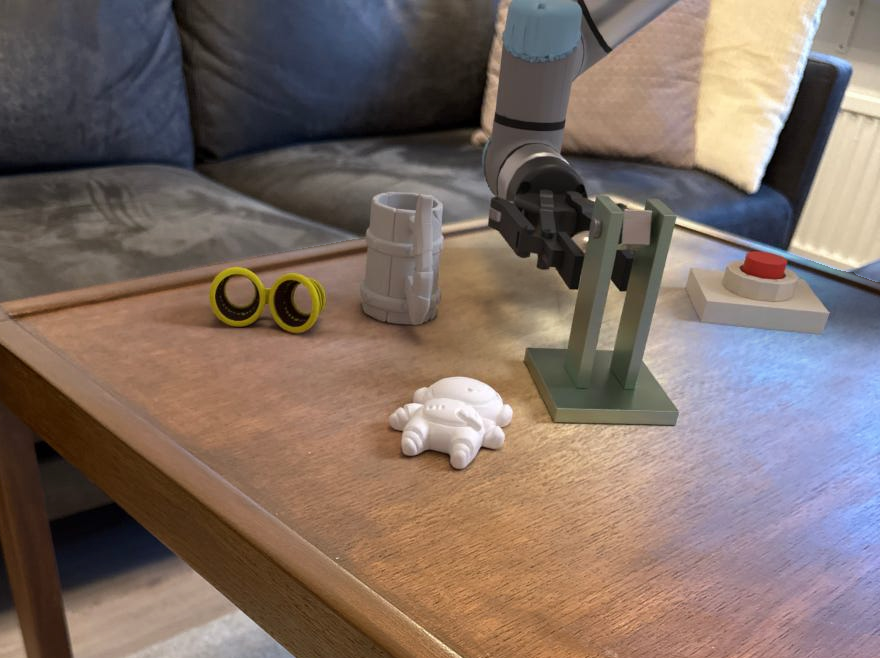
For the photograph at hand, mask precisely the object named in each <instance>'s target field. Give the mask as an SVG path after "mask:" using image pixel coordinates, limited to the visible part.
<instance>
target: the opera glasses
mask: <svg viewBox="0 0 880 658" xmlns="http://www.w3.org/2000/svg"><path fill="white" fill-rule="evenodd" d="M237 276H242V277H245V278H247V279H248V280H249V281H250V282H251V283H252V285H253V288H254V295H253V298H252V299H251V301H250V302H249V303H248V304H246V305H236V304H234V303H233V302H232V301H231V300H230V299H229V298H228V296H227V292H226V289H227V284H228V282H229V281H230V280H231V279H232V278H234V277H237ZM300 285H302V286H304V287H305V288H306V290H307V292H308V293H309V295H310V299H311V311H310V313H309V312H303V311H302V310H300V308H299V307H298V306H297V304H296V302H295V292H296V290H297V288H298V287H299V286H300ZM208 301H209V305H210V307H211V310H212V312H213V314H214V315H215V317H217V319H219V320H220V321H221V322H222V323H224V324H226V325H228V326H231V327H236V328H238V327H239V328H240V327H241V328H242V327H245V326H249V325H251V324H252V323H254V322H256V321H257V320H258V319H259V318H260V317H261V315H262V314H263V313H264V309H265V306H266V305H268V307H269V311H270V314H271V317H272V318H273V320H274V321H275V323H276V324H277V325H278V326H279V327H280V328H282V330H285V331H286V332H289V333H293V334H300V333H304V332H306V331H308V330H309V329H311V328H312V327H313V326H314V324H315V323H316V322H317V320H318V317H319V315H320V314H322V312H323V311H324V309H325V307H326V304H327V303H326V302H327V295H326V291H325V288H324V287H323V286H322V284H321V283H320V282H319V281H317V279H314V278H312V277H306V276H304V275H303V274H300V273H297V272H287V273H285V274H283V275H280V277H278V278H277V279H276V280H275V281H274V282H273V284H272V286H271V287H270V288H268V287H266V286H264V285H263V282H262V281H261V279H260V278H259V277H258V275H256V273H254V272H253V271H251V270H249V269H248V268H244V267H242V266H241V267H240V266H233V267H227V268H225V269H223V270H222V271H220V272H219V273H218V274H217V275H216V276H215V277H214V278H213V280H212V282H211V285H210V287H209V292H208Z"/></svg>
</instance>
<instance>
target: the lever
mask: <svg viewBox="0 0 880 658" xmlns="http://www.w3.org/2000/svg"><path fill="white" fill-rule="evenodd" d="M622 211H623V212H624V217H623V222H622V227H621V232H620V237H619V241H618V246H617V250H634V251H636V250H639V249H641V248H643V247H645V246H647V245H649V244H650V234H651V221H652V211H650V210H644V209H630V208H628V209H624V210H622ZM588 236H589V231H582V232H579V233H577V234H575V235H574V236H573V237H572V238H571V239H572V241H573V242H574V243H575V245H576V246H577V247H578V249H579V250H580V251H581V253H582V254H583V255H584V257H585V252H586V247H587V241H588ZM583 263H584V261H583ZM582 268H583V267H582ZM581 273H582V272H581Z"/></svg>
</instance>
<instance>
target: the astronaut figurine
mask: <svg viewBox="0 0 880 658" xmlns="http://www.w3.org/2000/svg"><path fill="white" fill-rule="evenodd" d="M412 401H413V402H412V403H405V404H404V406H403V407H398V408H396V409H395V411H393V413H391V414H390V415H389V417H388V423H389V425H390V427H391V428H392V429H393V430H396V431H401V432H402V434H401V440H400V441H401V442H400V446H401V451H402V453H403V454H404V456H408V457H413V456H416V455H419V454H421V453H423V452H425V451H428V450H431V451H436V452H439V453H444V454H448V455H449V456H450V458H449V459H450V460H449V461H450V465H451V466H452V468H454V469H457V470H461V469H466V467H467V466H468V465H469V464H471V462H472V461H473V460H475V458H476V456H477V454H478V452H479V451H480V449H481V447H483V448H488V449H492V450H498V449H500V448H501V447H502V445H503V444H504V443H505V439H506V434H505V433H504V430H503V428H505V427H507V426H508V425H509V424H511V422H512V419H513V415H514V411H513V408H512V407H511V406H510V405H509V404H508V403H505V404H504V401H503V398H502V397H501V394H499V393H498V392H497V391H496V390H495V389H493V388H492V387H491V386H490V385H489V384H487V383H485V382H482V381H480V380H478V379H475V378H471V377H467V376H451V377H445V378H442V379H439V380H437V381H435V382H434V383H432V384H431V385H430V386H429V387H426V386H425V387H420V388H418V389H417V390H415V392H414V394H413V398H412Z"/></svg>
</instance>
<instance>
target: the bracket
mask: <svg viewBox="0 0 880 658" xmlns="http://www.w3.org/2000/svg"><path fill="white" fill-rule="evenodd" d="M594 199H595V200H594V202H595V204H594V210H593V215H592V220H591V224H590V231H589V236H588V241H587V247H586V252H585V257H584V263H583V268H582V273H581V277H580V283H579V288H578V290H577V295H576V300H575V304H574V305H575V306H574V310H573V311H574V312H573V316H572V320H571V321H572V322H571V325H570V326H571V327H570V332H569V338H568V343H567V347H566V348H554V347H553V348H552V347H550V348H549V347H525V353H524V358H523V361H524V363H525V365H526V367H527V370H528V371H529V373H530V375H531V377H532V379H533V382H534V383H535V386H536V387H537V388H536V389H538V391H539V394H540V396H541V398H542V400H543V402H544V404H545V406H546V408H547V410H548V412H549V414H550V416H551V419H552V420H553V422H554V423H571V424H573V423H574V424H611V425H613V424H614V425H615V424H616V425H657V426H660V425H661V426H676V425H677V421H678V418H679V414H680V411H679V409H678V408H677V406H676V405H675V403H674V402H673V400H671V398H670V397H669V395H668V394H667V392H666V391H665V389H664V388H663V387H662V385H661V384H660V383H659V381H658V379H657V378H656V377H655V376H654V374H653V373H652V372H651V370H650V369H649V367H648V366H647V365H646V363H645V362H644V360H643V359H644V355H645V350H646V346H647V342H648V338H649V333H650V331H651V330H650V329H651V325H652V322H653V317H654V313H655V308H656V305H657V302H658V301H657V300H658V296H659V292H660V288H661V284H662V280H663V275H664V271H665V269H666V263H667V259H668V256H669V255H668V254H669V252H670V251H669V250H670V246H671V242H672V238H673V233H674V229H675V225H676V221H677V218H678V215H677V214H676V213H675V212H673V211H672V210H671V209H670V208H669V206H667V205H666V204H665V203H664V202H663V201H661V200H660V198H646V200H645V205H644V209H643V210H650V211H652V221H651V234H650V244H649V245H647V246H645V247H643V248H641V249H639V250H636V251H635V255H634V259H633V264H632V268H631V273H630V278H629V282H628V287H627V291H626V292H625V296H624V301H623V306H622V309H621V314H620V320H619V323H618V328H617V333H616V338H615V341H614V346H613V349H612V350H611V349H610V350H609V349H597V348H598V347H597V346H598V342H599V337H600V332H601V328H602V323H603V318H604V314H605V310H606V309H605V308H606V303H607V299H608V293H609V289H610V285H611V275H612V270H613V265H614V261H615V256H616V251H617V246H618V241H619V237H620V232H621V227H622V222H623V217H624V212H623V211H622V210H621V209H620V208H619V207H618V206H617V205H616V204H617V203H616V202H615V201H614V200H613V199H612V198H611V197H609V196H608V195H595V198H594Z"/></svg>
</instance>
